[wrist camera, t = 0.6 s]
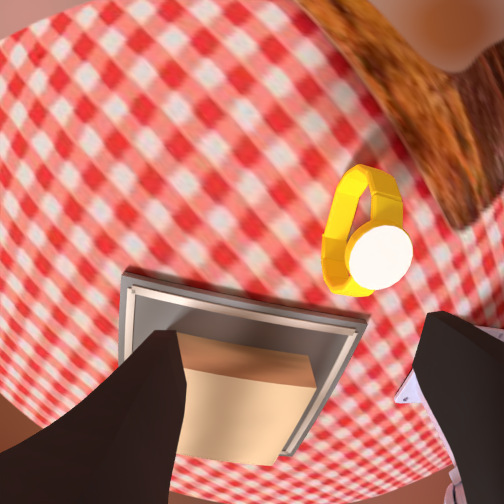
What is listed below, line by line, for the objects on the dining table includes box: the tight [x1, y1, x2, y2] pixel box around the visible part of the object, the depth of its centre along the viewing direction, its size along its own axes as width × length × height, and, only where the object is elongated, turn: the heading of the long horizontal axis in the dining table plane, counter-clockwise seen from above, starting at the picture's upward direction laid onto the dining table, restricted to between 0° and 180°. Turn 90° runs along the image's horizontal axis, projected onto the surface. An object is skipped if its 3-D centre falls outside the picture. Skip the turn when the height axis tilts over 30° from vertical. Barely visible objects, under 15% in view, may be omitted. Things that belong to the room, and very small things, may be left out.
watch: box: [321, 164, 413, 297], centre depth 14 cm, size 6×3×6 cm, turn 168°
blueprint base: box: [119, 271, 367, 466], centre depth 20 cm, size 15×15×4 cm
